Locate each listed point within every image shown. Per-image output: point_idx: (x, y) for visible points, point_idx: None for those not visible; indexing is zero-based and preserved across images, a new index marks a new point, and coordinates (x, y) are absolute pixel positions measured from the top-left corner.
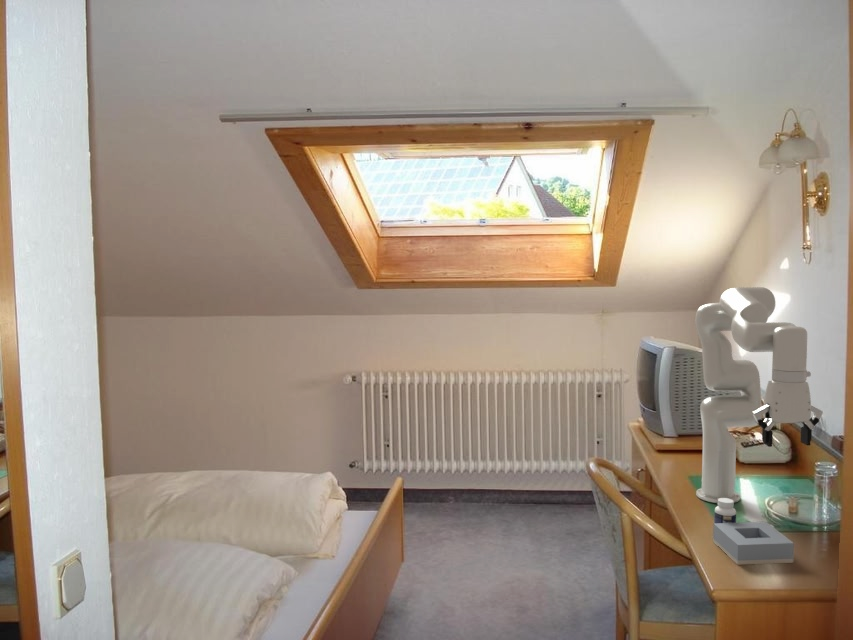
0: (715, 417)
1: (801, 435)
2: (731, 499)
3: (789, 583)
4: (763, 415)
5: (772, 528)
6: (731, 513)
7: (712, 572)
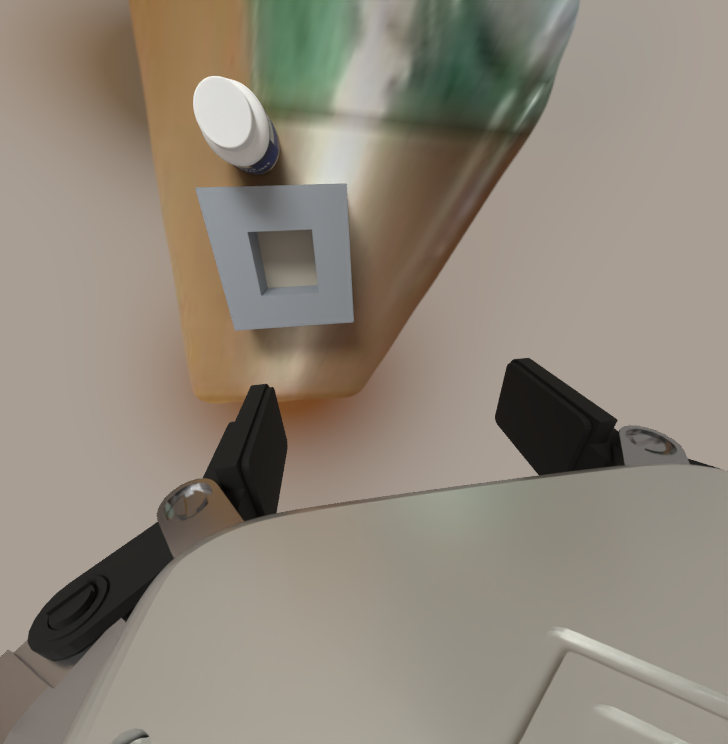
0: None
1: (536, 391)
2: (246, 104)
3: (311, 379)
4: (133, 619)
5: (344, 236)
6: (247, 163)
7: (194, 346)
